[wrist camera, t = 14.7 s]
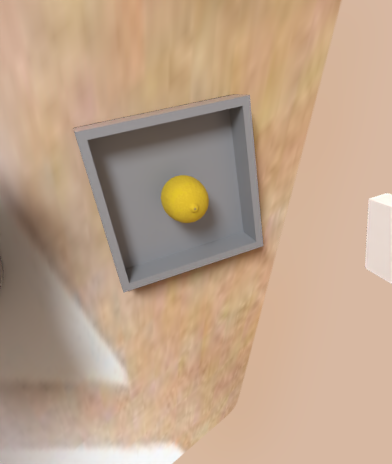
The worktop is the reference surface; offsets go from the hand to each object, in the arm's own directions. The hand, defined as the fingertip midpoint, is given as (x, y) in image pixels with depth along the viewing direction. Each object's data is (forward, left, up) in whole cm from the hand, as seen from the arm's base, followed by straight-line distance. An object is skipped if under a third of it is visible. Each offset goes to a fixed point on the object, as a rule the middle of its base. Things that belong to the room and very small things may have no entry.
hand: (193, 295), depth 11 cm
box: (+8, -8, -35) cm, 36 cm away
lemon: (+8, -8, -34) cm, 36 cm away
